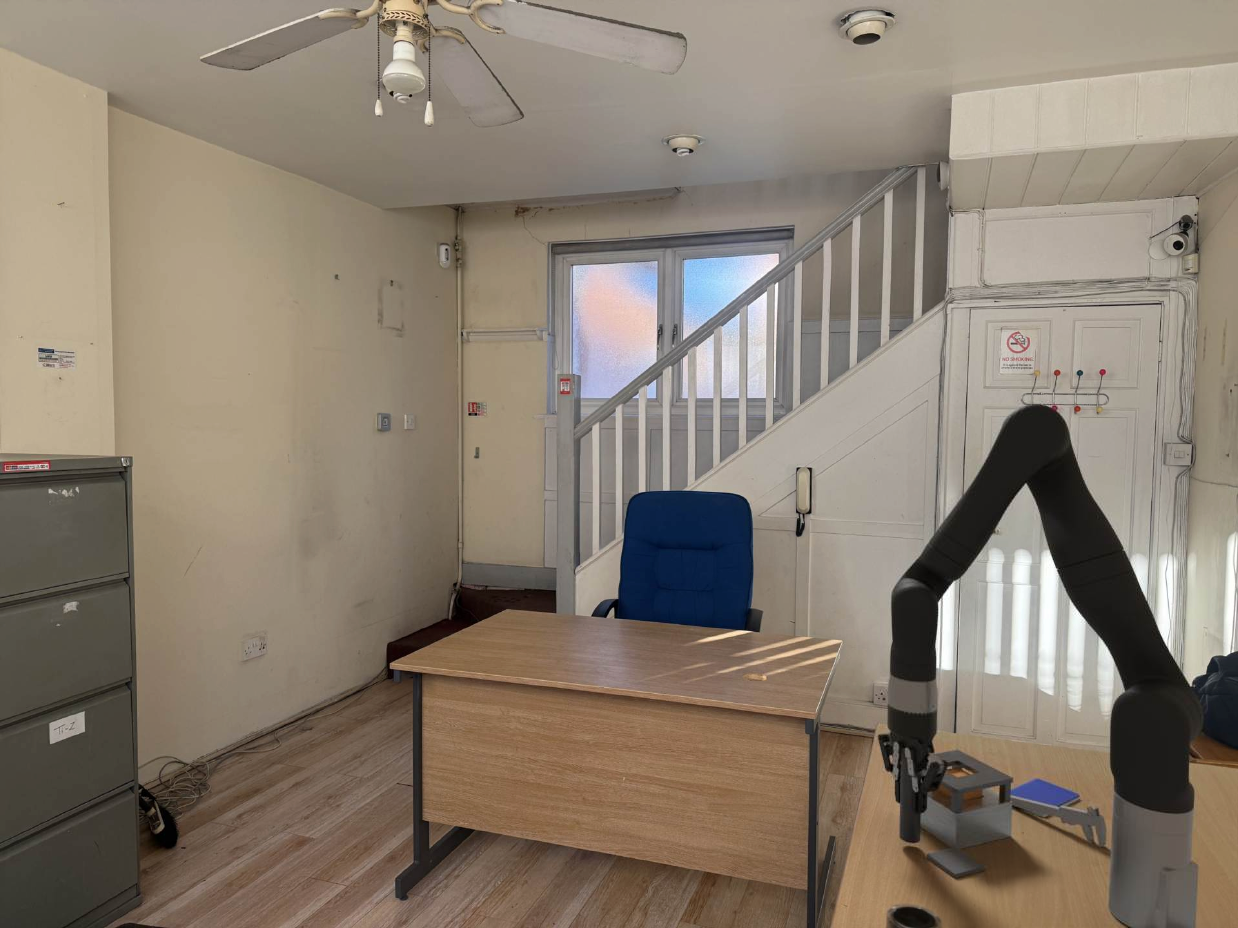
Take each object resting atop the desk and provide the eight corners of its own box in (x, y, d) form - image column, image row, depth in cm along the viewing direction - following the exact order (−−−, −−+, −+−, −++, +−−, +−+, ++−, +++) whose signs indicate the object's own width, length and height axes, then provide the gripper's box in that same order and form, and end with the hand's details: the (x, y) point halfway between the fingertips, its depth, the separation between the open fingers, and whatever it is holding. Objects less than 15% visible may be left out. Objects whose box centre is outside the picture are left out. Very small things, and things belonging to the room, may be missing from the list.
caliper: (1105, 848, 128) (1107, 810, 128) (1102, 850, 128) (1103, 812, 128) (991, 796, 146) (992, 763, 146) (987, 797, 145) (988, 764, 145)
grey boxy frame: (1010, 836, 131) (1013, 777, 131) (955, 849, 127) (957, 789, 126) (956, 803, 143) (957, 749, 142) (903, 815, 138) (904, 759, 138)
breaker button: (981, 808, 133) (982, 780, 133) (956, 814, 131) (957, 786, 131) (956, 793, 138) (957, 767, 138) (931, 799, 136) (932, 772, 136)
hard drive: (1044, 811, 138) (1079, 793, 145) (999, 793, 145) (1035, 776, 151) (1043, 820, 138) (1079, 802, 145) (999, 801, 145) (1035, 784, 151)
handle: (924, 840, 127) (926, 749, 126) (909, 844, 126) (910, 752, 125) (910, 831, 130) (912, 742, 129) (895, 834, 129) (896, 745, 128)
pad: (985, 869, 121) (985, 866, 121) (955, 877, 119) (955, 874, 119) (955, 849, 127) (955, 846, 127) (926, 857, 125) (926, 853, 125)
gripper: (964, 714, 122) (961, 823, 123) (899, 686, 135) (898, 784, 136) (926, 721, 119) (924, 832, 120) (864, 692, 132) (862, 792, 133)
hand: (910, 806), depth 128 cm, fingers closed on handle, 3 cm apart
